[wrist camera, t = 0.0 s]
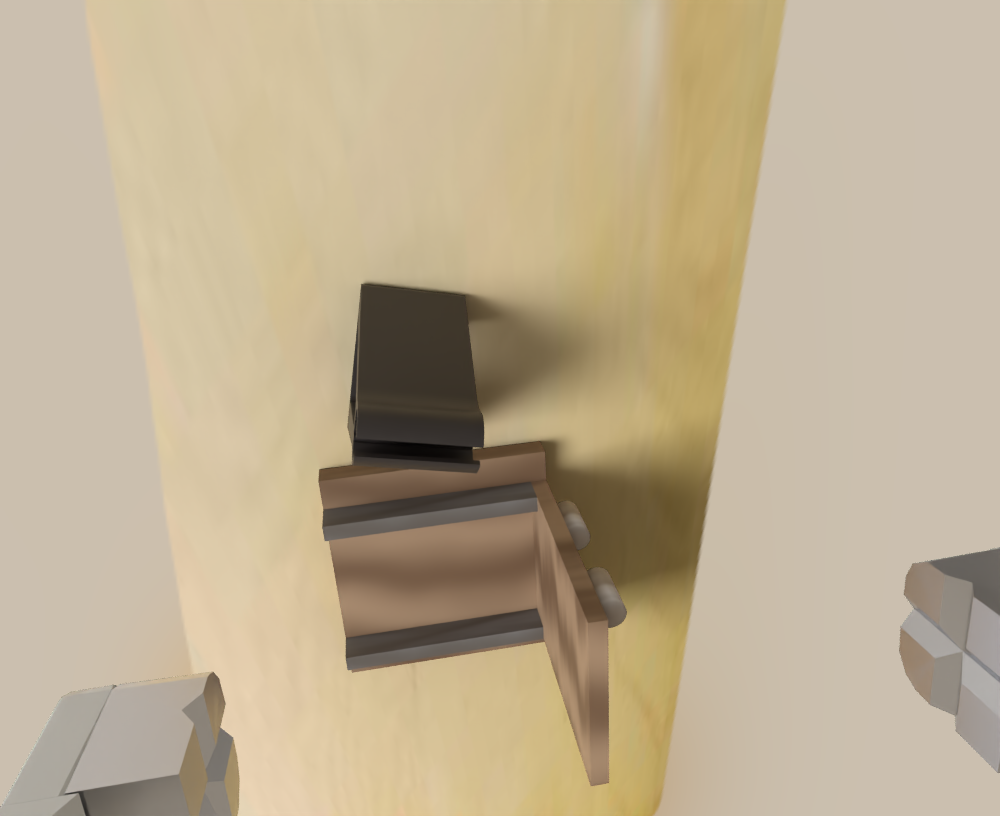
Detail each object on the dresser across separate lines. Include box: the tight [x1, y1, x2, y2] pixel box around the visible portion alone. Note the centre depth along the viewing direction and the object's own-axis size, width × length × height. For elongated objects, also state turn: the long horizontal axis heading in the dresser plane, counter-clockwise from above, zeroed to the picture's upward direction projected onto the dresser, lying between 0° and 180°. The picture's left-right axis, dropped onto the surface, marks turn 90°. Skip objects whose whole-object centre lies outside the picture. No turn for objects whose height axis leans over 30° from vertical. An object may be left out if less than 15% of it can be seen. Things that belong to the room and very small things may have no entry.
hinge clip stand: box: [319, 441, 627, 786], centre depth 48 cm, size 15×15×16 cm
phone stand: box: [348, 284, 484, 473], centre depth 44 cm, size 9×6×12 cm, turn 170°
